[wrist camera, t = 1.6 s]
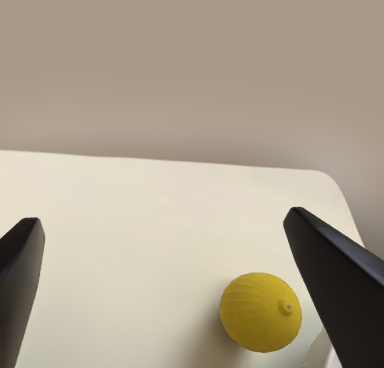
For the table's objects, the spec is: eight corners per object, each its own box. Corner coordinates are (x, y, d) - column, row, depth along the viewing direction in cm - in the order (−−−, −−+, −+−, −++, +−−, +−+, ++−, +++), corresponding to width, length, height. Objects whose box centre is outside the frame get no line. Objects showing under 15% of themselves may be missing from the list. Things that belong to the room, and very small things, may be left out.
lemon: (194, 311, 22) (234, 303, 15) (232, 269, 25) (279, 247, 18) (237, 365, 21) (301, 381, 14) (271, 314, 24) (337, 309, 17)
